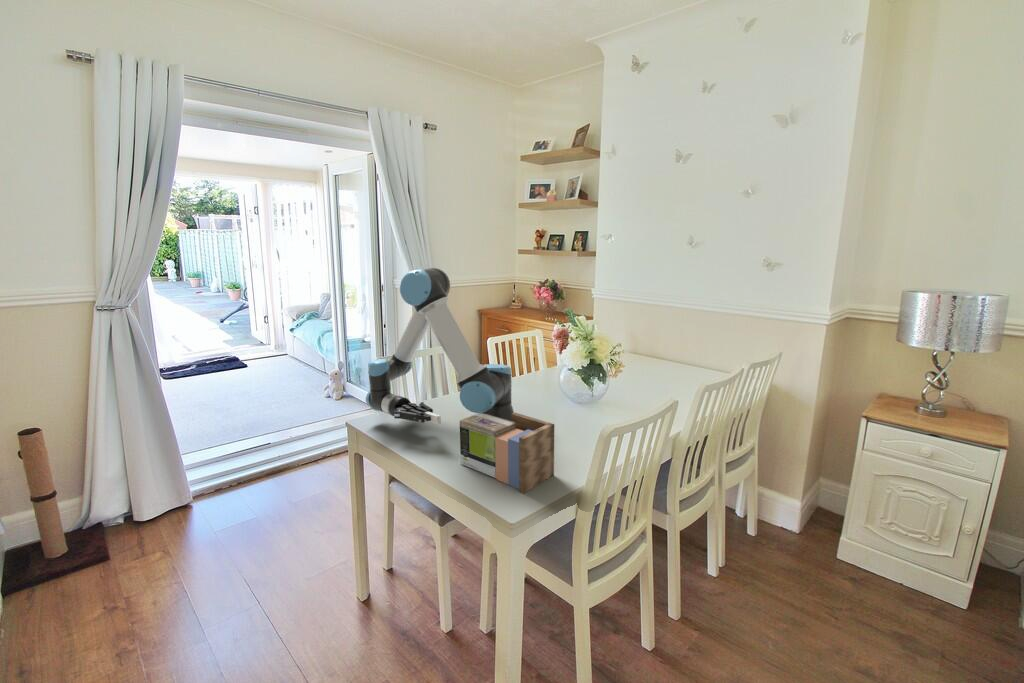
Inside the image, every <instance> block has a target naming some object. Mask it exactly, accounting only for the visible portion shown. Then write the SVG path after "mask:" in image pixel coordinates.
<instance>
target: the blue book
mask: <svg viewBox="0 0 1024 683" xmlns="http://www.w3.org/2000/svg"><path fill="white" fill-rule="evenodd" d="M530 432H532V430H529V429H527V430H525V431H523V432H521V433H519V434H517V435H515V436H513V437H511V438H509V439H508V484H507V485H509V486H510V485H511V486H510V487H512V486H513V487H512V488H515V487H516V488H515V489H517V488H518V489H517V490H519V437H521V436H524V435H526V434H528V433H530Z"/></svg>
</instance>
